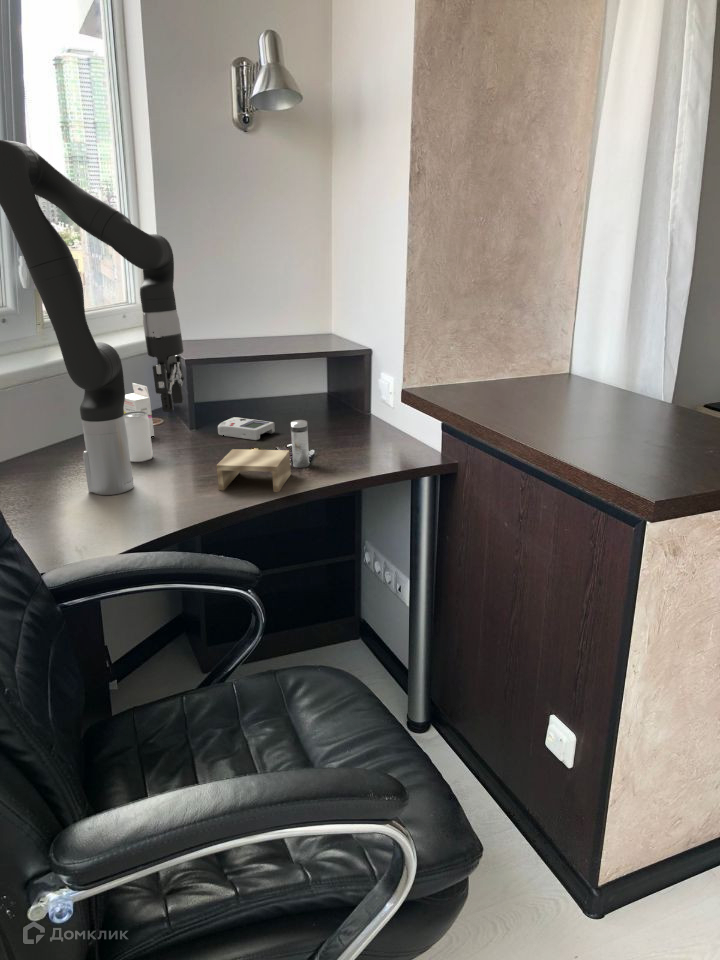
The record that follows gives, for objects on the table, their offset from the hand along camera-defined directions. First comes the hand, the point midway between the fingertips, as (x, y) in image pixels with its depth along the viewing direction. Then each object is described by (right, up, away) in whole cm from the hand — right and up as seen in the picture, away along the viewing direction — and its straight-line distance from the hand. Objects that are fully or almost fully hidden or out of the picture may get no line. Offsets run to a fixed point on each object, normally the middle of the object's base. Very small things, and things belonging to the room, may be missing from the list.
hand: (173, 407), depth 165 cm
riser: (+16, -16, +11) cm, 26 cm away
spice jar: (+26, -12, +22) cm, 36 cm away
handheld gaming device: (+8, -3, +49) cm, 50 cm away
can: (-16, -11, +30) cm, 35 cm away
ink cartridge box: (-22, -4, +50) cm, 55 cm away
